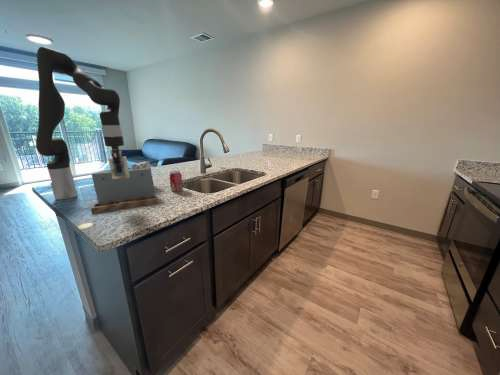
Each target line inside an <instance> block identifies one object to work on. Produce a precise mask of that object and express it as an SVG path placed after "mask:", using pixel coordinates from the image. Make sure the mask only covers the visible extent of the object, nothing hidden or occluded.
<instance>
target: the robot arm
mask: <svg viewBox="0 0 500 375" xmlns="http://www.w3.org/2000/svg"><path fill="white" fill-rule="evenodd" d="M36 65H37V74H38V126H37V132H36V140H35V147H36V151H37V152H38V154H39V155H40V156H43V157H52V156H53V158H52V160H51V161H48V162H47V163H46V167H47V171H48V174H49V178H50V180H51V181H50V186H51V190H52V193H53V196H54V200H58V201H59V200H61V201H62V200H69V199H73V198H76V197H77V196H79V194H78V190H77V187H76V184H75V180H74V175H73V172H72V168H71V159H70V154H69V149H68V148H69V147H68V145H67V142H66V141H65V139H63V138H61V137H57V136H54V131H55V130H56V128H57V127H58V125H60V123H61V122H62V121H63V120H64V117H65V113H66V111H65V110H66V109H65V108H66V103H65V100H64V98H63V97H62V95H61V93H60V92H59V90H58V89H57V87H56V85H55V83H54V78H53V74H54V73H57V74H62V75H66V76H69V77H71V78H72V80H73V82H74V84H75V85H76V87H78V88H79V89H80V90H82V91H83V92H84V93H86V94H87V95H88V97H89V99H90V100H91V101H92V102H93V103H94V104H96V105H99V106H106V107H107V109H106V110H104V111H101V112H100V113H99V118H100V123H101V130H102V131H101V132H102V136H103V141H104V146H106V147H111V150H110V154H111V157H112V158H113V161H114V164H115V165H116V170H117V173H121V172H122V167H121V157H123V156H122V155H123V154H122V149H120V147H121V146H125V141H124V136H123V131H122V130H123V129H122V128H121V123H120V117H119V115H120V114H119V113H120V111H119V110H120V105H121V104H120V103H121V100H120V96H119V94H118V93H117V91H116V90H114V89H111V88H107V87H106V88H105V87H102V85H101V83H100V82H98V80H96V79H95V78H93V77H92V76H91V75H89V74H88V73H86V72H85V71H84V70H83V69H82V68H81V67H80V66H79V65H78V64H77V63H76V62H75V61H74V60H73V59H72V58H71V57H70V56H69V55H68V54H66V53H65V52H63V51H59V50H56V49H53V48H50V47H47V46H40V47H39V48H38V49H37V52H36ZM53 136H54V137H53ZM119 157H120V158H119ZM116 160H118V161H119V162H116Z"/></svg>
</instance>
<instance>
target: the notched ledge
mask: <svg viewBox="0 0 500 375" xmlns="http://www.w3.org/2000/svg"><path fill="white" fill-rule="evenodd" d="M155 203H156V204H158V203H157V197H156V194H154V195H151V196H143V197H136V198H129V199H122V200H114V201H107V202H100V203H98V202H94V203H93V204H92V206H91V207H90V210H91V211H90V212H91V214H97V213H98V214H99V213H103V212H110V211H115V210H122V209H123V210H124V209H128V208H130V209H131V208H136V207H143V206H149V205H154V204H155ZM156 204H155V205H156Z"/></svg>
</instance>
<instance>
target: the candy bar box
mask: <svg viewBox="0 0 500 375" xmlns="http://www.w3.org/2000/svg"><path fill="white" fill-rule="evenodd" d="M138 169H150V171H151V178H152V184H153V185H154V181H153V179H154V178H153V175H152V174H153V173H152V168H151V162H150V161H141V162H138V163H134V164H131V170H138Z"/></svg>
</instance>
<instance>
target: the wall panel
mask: <svg viewBox="0 0 500 375" xmlns="http://www.w3.org/2000/svg"><path fill="white" fill-rule="evenodd" d="M128 170H129V178H120V179H112V174H111V171H106V172H105V171H104V172H93V173H91V177H92V181H93V187H94V186H95V188H94V191H96V192H95V195H96V198H97V203H100V202H107V201H114V200H122V199H129V198H136V197H143V196H151V195H155V193H154V192H155V191H154V183H153V184H152V179H153V177H152V178H151V173H152V170H151V171H150V169H138V170H133V169H128Z"/></svg>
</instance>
